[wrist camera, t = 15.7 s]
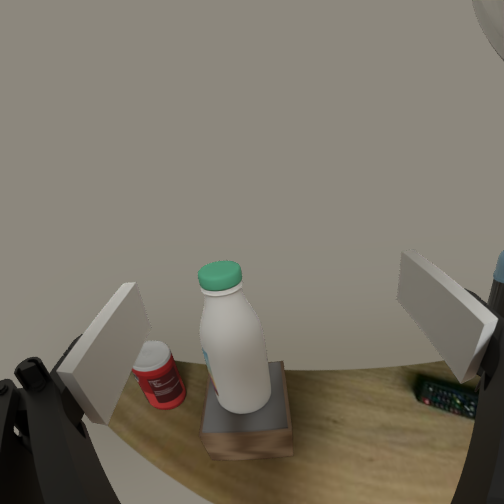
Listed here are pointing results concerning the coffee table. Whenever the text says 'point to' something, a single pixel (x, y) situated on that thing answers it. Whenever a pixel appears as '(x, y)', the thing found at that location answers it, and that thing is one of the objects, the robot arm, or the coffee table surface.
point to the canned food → (159, 376)
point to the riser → (249, 425)
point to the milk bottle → (233, 340)
